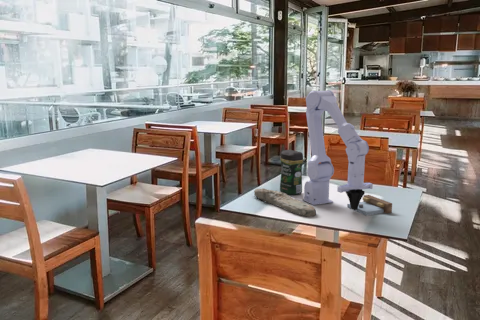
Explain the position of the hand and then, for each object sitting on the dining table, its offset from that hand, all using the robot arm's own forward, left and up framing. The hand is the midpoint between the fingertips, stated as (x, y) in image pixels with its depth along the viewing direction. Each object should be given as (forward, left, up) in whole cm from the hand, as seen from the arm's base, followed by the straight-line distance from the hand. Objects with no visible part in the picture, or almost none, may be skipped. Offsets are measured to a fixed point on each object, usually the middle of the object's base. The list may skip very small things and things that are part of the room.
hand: (354, 209), depth 161 cm
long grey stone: (-20, +18, -2) cm, 27 cm away
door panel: (+5, 0, -2) cm, 6 cm away
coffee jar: (-8, +32, -1) cm, 33 cm away
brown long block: (+11, 0, -1) cm, 11 cm away
